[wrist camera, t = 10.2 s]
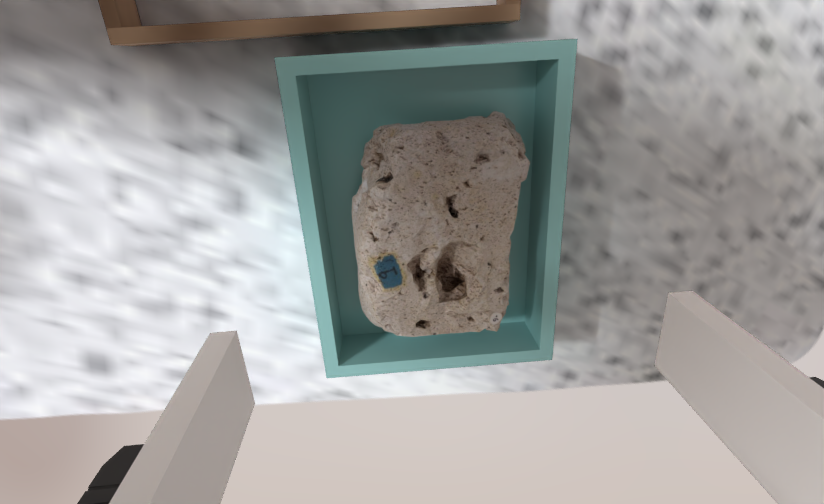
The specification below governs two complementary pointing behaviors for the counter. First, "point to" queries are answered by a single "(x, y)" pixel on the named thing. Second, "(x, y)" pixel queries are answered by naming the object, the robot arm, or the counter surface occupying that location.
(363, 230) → the stone
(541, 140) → the teal dish
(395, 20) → the walnut frame
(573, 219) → the counter surface
